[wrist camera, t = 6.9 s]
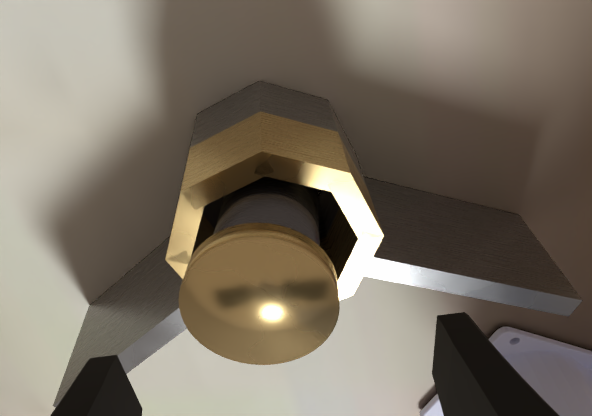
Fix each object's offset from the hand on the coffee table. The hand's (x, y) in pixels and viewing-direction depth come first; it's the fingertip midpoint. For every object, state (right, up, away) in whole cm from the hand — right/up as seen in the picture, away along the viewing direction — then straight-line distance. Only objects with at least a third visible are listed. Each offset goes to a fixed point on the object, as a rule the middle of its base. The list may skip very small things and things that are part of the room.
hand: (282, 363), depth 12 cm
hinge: (+1, +2, +10) cm, 10 cm away
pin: (0, +5, +7) cm, 9 cm away
